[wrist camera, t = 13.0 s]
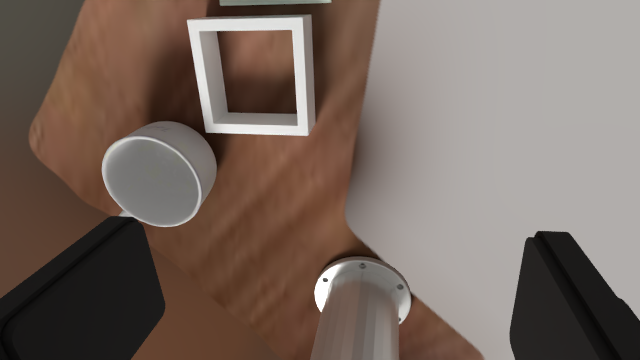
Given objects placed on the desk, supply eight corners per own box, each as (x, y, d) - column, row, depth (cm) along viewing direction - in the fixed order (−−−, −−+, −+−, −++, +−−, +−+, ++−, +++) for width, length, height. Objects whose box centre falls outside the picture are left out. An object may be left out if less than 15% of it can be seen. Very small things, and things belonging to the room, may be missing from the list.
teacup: (184, 94, 44) (143, 115, 37) (246, 168, 47) (219, 200, 40) (113, 156, 50) (66, 185, 43) (172, 219, 52) (137, 256, 45)
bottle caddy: (315, 123, 43) (308, 135, 39) (221, 120, 45) (205, 132, 41) (311, 14, 38) (302, 17, 34) (205, 16, 40) (186, 19, 36)
